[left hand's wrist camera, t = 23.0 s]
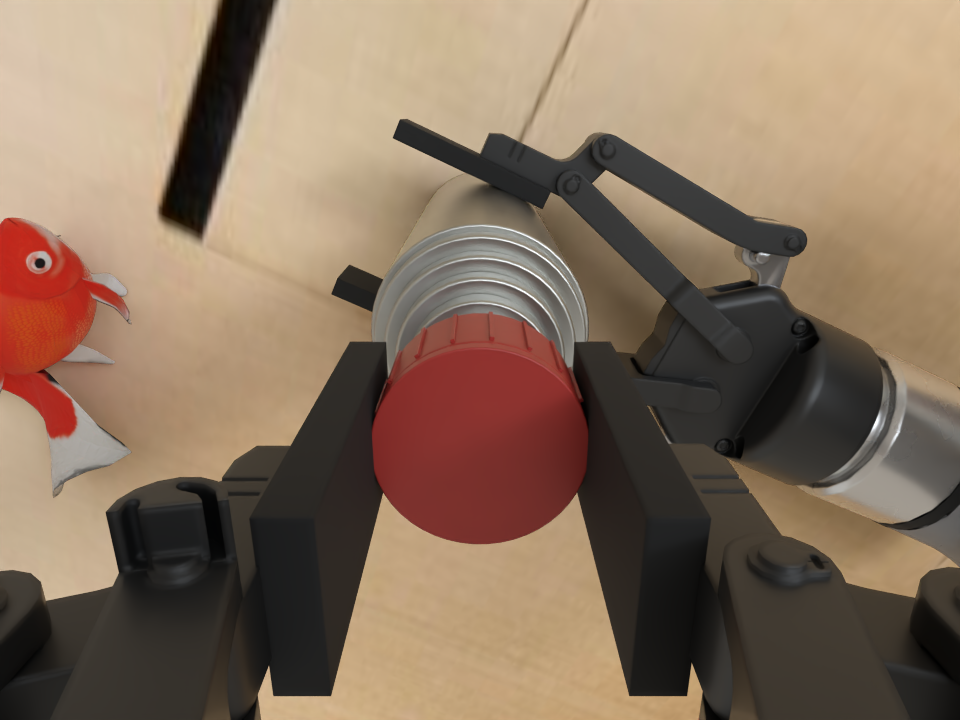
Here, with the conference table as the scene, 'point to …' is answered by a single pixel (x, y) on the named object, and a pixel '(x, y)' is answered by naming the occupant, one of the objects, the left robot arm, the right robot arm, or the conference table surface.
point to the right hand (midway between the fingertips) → (370, 206)
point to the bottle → (479, 270)
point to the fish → (53, 340)
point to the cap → (480, 430)
